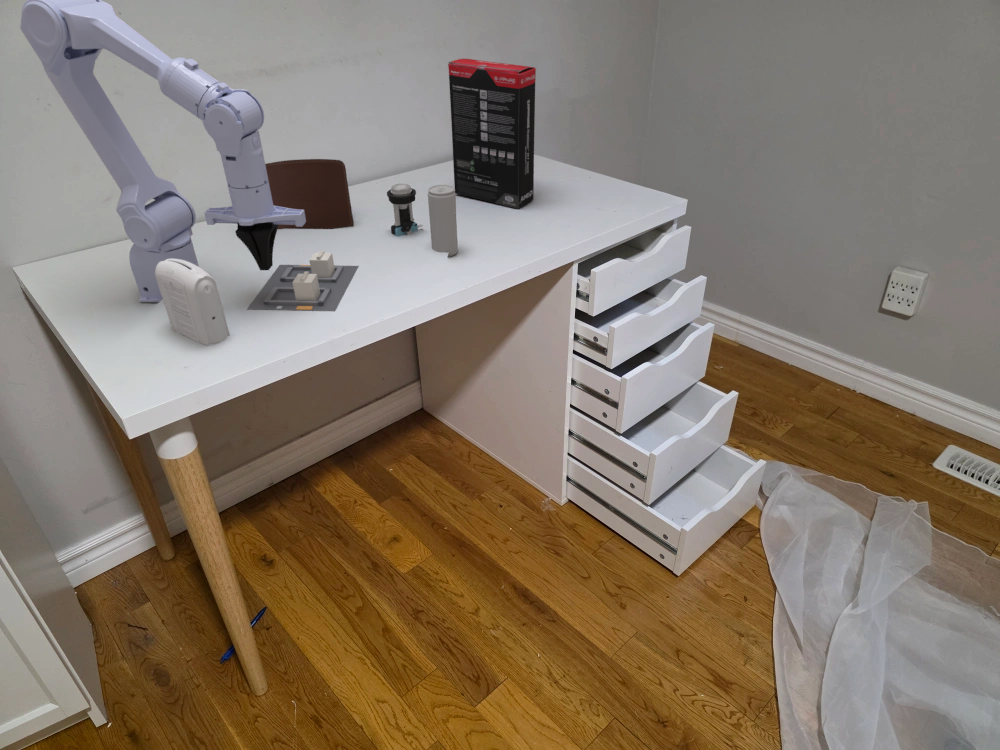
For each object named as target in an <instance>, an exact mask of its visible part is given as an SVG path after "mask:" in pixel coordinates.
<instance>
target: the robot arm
mask: <svg viewBox="0 0 1000 750" xmlns="http://www.w3.org/2000/svg"><path fill="white" fill-rule="evenodd" d="M19 29H20V31H21V32H22V34H23V35H24V37H25V38H26V40H27V41H28V43H29V45H30V46H31V48H32V49H33V51H34V52H35V54H36V55H37V57H38V58H39V61H40V62H41V65H42V67H43V69H44V72H45V73H46V76H47V78H48V79H49V80H50V82H51V84H52V85H53V87H54V88H55V90H56V91H57V92H56V93H58V95H59V97H61V99H62V101H63V103H64V104H65V105H66V107H67V109H68V110H69V112H70V113H71V115H72V116H73V119H74V120H75V121H76V123H77V124H78V126H79V128H80V129H81V130H82V132H83V134H84V135H85V137H86V138H87V140H88V141H89V143H90V145H91V146H92V148H93V150H95V152H96V154H97V156H98V157H99V158H100V161H101V162H102V163H103V165H104V166H105V168H106V169H107V171H108V172H109V174H110V176H111V177H112V179H113V180H114V182H115V184H116V185H117V186H118V188H119V190H120V196H119V197H118V198H119V200H118V202H117V205H116V208H115V209H116V212H117V214H118V216H119V218H121V221H122V224H123V225H122V226H123V228H124V232H125V234H126V236H127V237H128V239H129V240H130V241H131V243H133V244H132V246H131V248H130V250H129V256H128V258H129V265H130V268H131V272H132V275H133V277H134V280H135V283H136V285H137V288H138V292H139V295H140V297H139V299H138V300H139V302H140V303H160V302H161V301H163V298H162V295H161V292H160V289H159V286H158V282H157V279H156V276H155V270H156V266H157V264H158V263H159V262H161V261H165V260H166V259H181V260H185V261H188V262H190V263H192V264H194V265H196V266H198V267H200V265H199V262H198V258H197V254H196V251H195V248H194V244H193V239H192V236H193V235H194V233H193V230H192V229H193V227H194V226H195V224H196V220H197V216H196V215H197V214H196V212H195V209H194V207H193V205H192V203H191V202H190V201H189V200H188V199H187V198H186V197H185V196H184V195H182V194H181V192H179V190H178V188H177V187H176V185H175V183H173V182H172V181H169V180H167V179H164V178H162V177H159V176H157V175H156V174H155V172H154V170H153V169H152V168H151V165H150V164H149V163H148V161H147V159H146V158H145V156H144V155H143V153H142V151H141V150H140V148H139V146H138V145H137V143H136V141H135V140H134V138H133V136H132V135H131V133H130V132H129V129H127V127H126V125H125V123H124V122H123V120H122V118H121V117H120V115H119V114H118V111H117V110H116V109H115V107H114V105H113V104H112V102H111V101H110V98H109V96H108V95H107V94H106V93H105V90H104V89H103V88H102V86H101V84H100V83H99V80H97V78H96V76H95V74H94V70H95V69H94V68H95V65H96V60H97V59H98V58H99V56H100V54H101V52H102V50H103V49H104V50H107V51H108V52H110V53H111V54H113V55H115V56H117V57H119V58H120V59H122V60H123V61H125V62H127V63H128V64H129V65H131V66H133V67H135V68H137V69H138V70H140V71H142V72H143V73H145V74H147V75H148V76H150V77H152V78H153V79H155V80H157V81H158V86H159V89H160V92H161V93H162V94H163V96H166V97H167V98H168V99H169V100H171V101H173V102H174V103H176V104H177V105H178V106H180V107H181V108H183V109H185V110H186V111H187V112H189V113H190V114H192V115H194V116H195V117H196V118H197V119H200V121H202V125H203V127H204V129H205V130H206V133H207V134H208V135H209V136H210V138H211V139H212V140H213V141H214V143H215V148H216V151H217V152H218V153H219V155H220V158H221V164H222V167H223V170H224V171H223V172H224V175H225V180H226V184H227V185H226V186H227V190H228V193H229V197H230V200H231V201H230V203H231V206H222V207H209V208H207V209H206V211H204V212H203V214H204V218H205V221H206V225H208V226H214V225H215V224H236V225H237V226H236V228H237V229H236V230H235V232H234V233H235V234H236V237H237V238H238V239H239V240H240V241H241V242H242V243H243V244H244V246H245V247H246V248H247V249H248V251H249V252H250V254H251V255H252V257H253V259H254V261H255V262H256V264H257V266H258V269H259V270H260V271H270V269H271V268H272V267H273V254H274V245H275V239H276V235H277V232H278V230H279V229H278V226H279V224H280V225H296V227H302V226H303V225H304V224H305V222H306V218H305V212H304V210H299V209H291V208H285V207H280V206H274V205H273V201H272V196H271V191H270V186H269V181H268V175H267V170H266V165H265V164H266V161H265V156H264V150H263V146H262V141H261V137H260V131H259V130H260V129H261V128H262V127H263V125H264V122H265V113H264V109H263V106H262V104H261V102H260V101H259V99H257V98H256V97H255V95H253V94H252V93H251V91H249V90H248V89H242V88H237V89H234V88H232V87H230V86H229V85H228V84H227V83H225V82H224V81H222V82H221V81H219V80H218V79H216V78H214V77H213V76H212V75H210V74H209V73H208V72H206V71H205V70H204V69H202V68H200V67H199V62H197V61H196V60H195V59H193V58H186V57H183V56H182V57H175V58H171V57H170V56H169V55H167V54H166V53H165V52H163V51H162V50H160V49H159V48H158V47H157V46H156V45H154V44H153V43H152V42H151V41H149V40H148V39H147V38H145V37H144V36H143V35H142V34H140V33H139V32H138V31H137V30H135V29H134V28H132V27H131V26H130V24H129V25H128V23H126V22H125V21H123V20H122V19H121V18H120V17H118V15H117V14H116V12H115V9H114V7H113V5H111V4H110V3H108V2H106V1H103V0H25V2H24V3H23V5H22V9H21V18H20V26H19ZM151 200H153V201H151ZM149 201H150V203H148V202H149Z"/></svg>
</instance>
